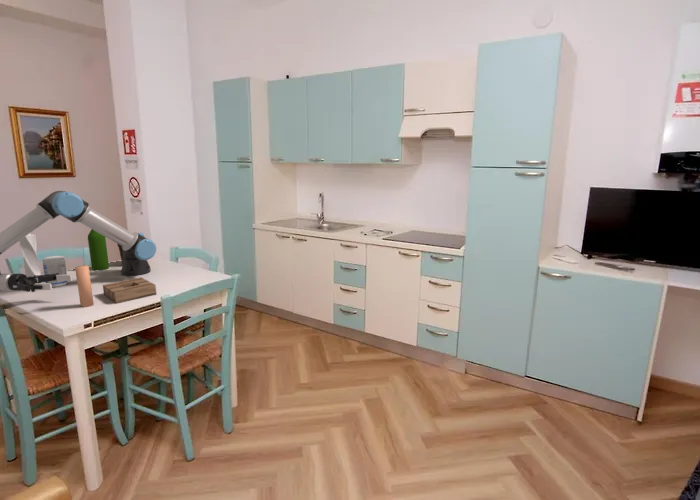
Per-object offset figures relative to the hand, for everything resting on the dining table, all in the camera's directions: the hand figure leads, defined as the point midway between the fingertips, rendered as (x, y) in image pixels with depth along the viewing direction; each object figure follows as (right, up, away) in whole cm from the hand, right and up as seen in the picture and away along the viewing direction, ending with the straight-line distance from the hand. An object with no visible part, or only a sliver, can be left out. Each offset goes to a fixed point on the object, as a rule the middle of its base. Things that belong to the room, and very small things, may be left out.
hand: (61, 282), depth 185 cm
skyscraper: (-41, -3, +38) cm, 56 cm away
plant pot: (-7, +5, +76) cm, 76 cm away
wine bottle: (-21, +3, +64) cm, 68 cm away
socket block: (+22, -7, +17) cm, 29 cm away
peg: (+10, -11, +3) cm, 15 cm away
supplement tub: (-25, -4, +32) cm, 41 cm away
